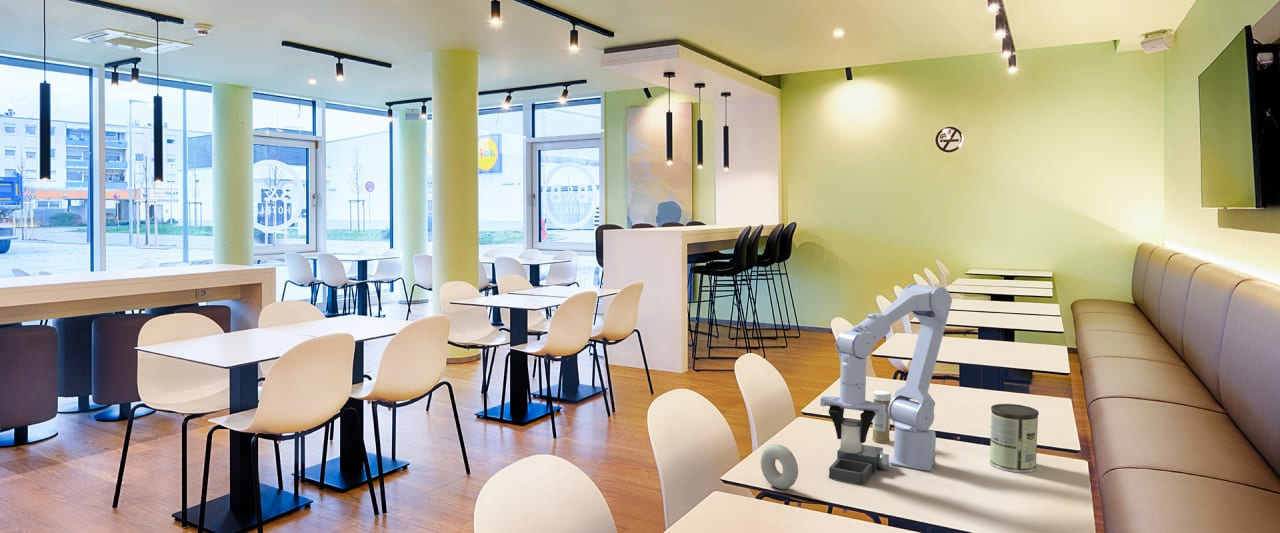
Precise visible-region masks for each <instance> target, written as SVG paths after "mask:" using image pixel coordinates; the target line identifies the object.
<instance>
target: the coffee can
mask: <svg viewBox="0 0 1280 533" xmlns="http://www.w3.org/2000/svg"><path fill="white" fill-rule="evenodd" d="M990 410H991V422H990V424H991V425H990V449H989V450H990V453H989V454H990V456H989V457H990V458H989V464H990V465H991V466H992V467H994V468H996V469H998V470H1002V471H1005V472H1009V473H1010V472H1011V473H1020V474H1022V473H1023V474H1027V473H1033V472H1035V471H1036V470H1037V450H1038V446H1037V445H1038V426H1039V425H1038V424H1039V423H1038V422H1039V420H1038V419H1039V415H1040V414H1039V410H1038V409H1036V408H1033V407H1030V406H1026V405H1023V404H1022V405H1021V404H1015V403H997V404H994V405H991V406H990Z"/></svg>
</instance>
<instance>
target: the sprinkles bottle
mask: <svg viewBox="0 0 1280 533" xmlns="http://www.w3.org/2000/svg"><path fill="white" fill-rule="evenodd" d="M872 400H873V402H875V403H879V404H885V413H884V414H883V415H882V414H879V413H876V415H875V416H874V418H873V420H872V441H874V442H875V443H880V444H887V443H889V442H890V440H891V439H890V430H891V419H890V418H889V415H888V406H889V404H890V402H891V400H892V394H891V392H890V391H887V390H874V391H873V392H872Z"/></svg>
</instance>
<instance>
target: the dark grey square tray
mask: <svg viewBox="0 0 1280 533" xmlns="http://www.w3.org/2000/svg"><path fill="white" fill-rule="evenodd" d="M828 473H829V474H828V479H832V480H834V479H836V480H835V481H839V480H840V481H839V482H844V481H845V482H846V483H850V482H851V483H850V484H855V483H856V485H863V484H864V485H865V484H866V483H867V482H868V481H869V480H870V478H871V477H872V476H873V473H872V464H869V463H865V462H859V461H854V460H848V459H839V458H838V459H837V458H836V460H835V461H834V462H833V463H832V464H831V465H830V466H829V468H828Z"/></svg>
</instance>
